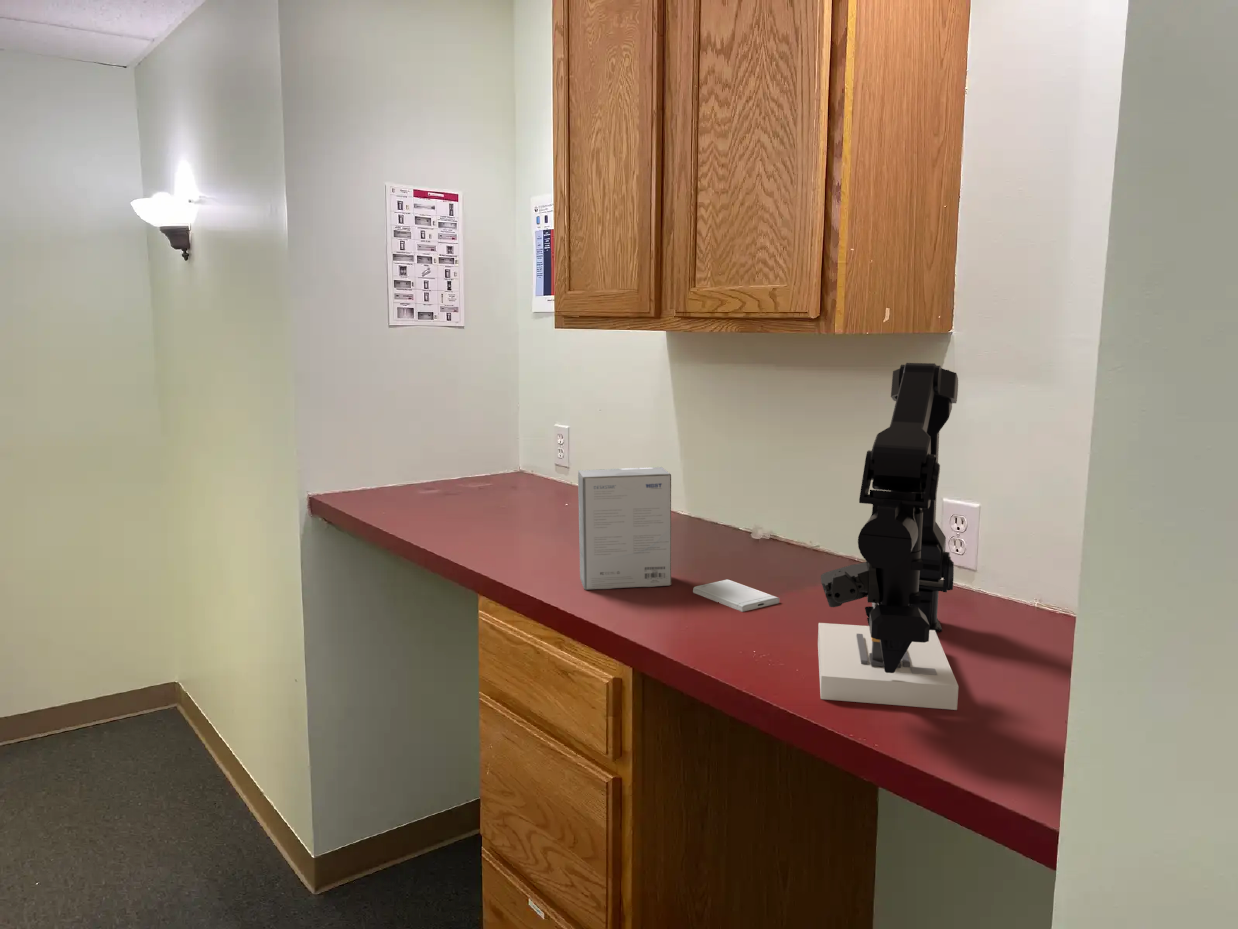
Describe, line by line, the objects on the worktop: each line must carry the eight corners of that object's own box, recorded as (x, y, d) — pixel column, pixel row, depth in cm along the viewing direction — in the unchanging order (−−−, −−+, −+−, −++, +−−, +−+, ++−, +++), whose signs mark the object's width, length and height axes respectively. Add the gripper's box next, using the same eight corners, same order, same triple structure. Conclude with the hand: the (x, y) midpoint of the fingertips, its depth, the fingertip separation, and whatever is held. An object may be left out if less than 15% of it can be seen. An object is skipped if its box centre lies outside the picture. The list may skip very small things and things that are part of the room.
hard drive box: (663, 574, 167) (664, 466, 164) (671, 587, 160) (673, 473, 156) (578, 578, 165) (577, 468, 162) (583, 590, 157) (582, 476, 154)
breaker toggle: (869, 656, 119) (870, 628, 118) (898, 658, 118) (899, 630, 118) (871, 665, 116) (872, 637, 115) (900, 668, 115) (902, 639, 115)
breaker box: (817, 642, 133) (818, 619, 132) (933, 650, 130) (935, 627, 129) (820, 699, 113) (821, 672, 113) (956, 710, 110) (958, 682, 110)
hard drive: (692, 586, 156) (742, 605, 146) (729, 578, 161) (779, 595, 151) (692, 596, 157) (742, 615, 147) (729, 587, 161) (779, 605, 151)
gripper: (824, 526, 120) (819, 640, 122) (828, 564, 102) (823, 697, 104) (913, 530, 118) (906, 646, 120) (933, 570, 100) (925, 706, 102)
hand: (889, 671), depth 112 cm, fingers closed
